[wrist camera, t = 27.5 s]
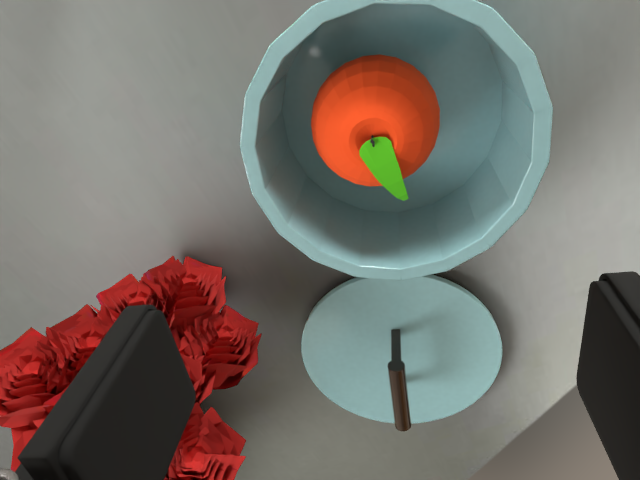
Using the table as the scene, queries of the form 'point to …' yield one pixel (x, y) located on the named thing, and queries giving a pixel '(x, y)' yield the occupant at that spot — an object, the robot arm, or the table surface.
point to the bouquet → (193, 344)
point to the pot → (443, 162)
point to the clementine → (376, 121)
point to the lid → (401, 348)
